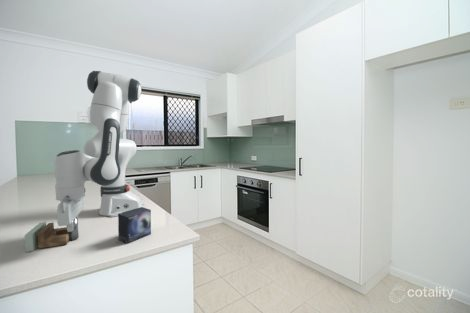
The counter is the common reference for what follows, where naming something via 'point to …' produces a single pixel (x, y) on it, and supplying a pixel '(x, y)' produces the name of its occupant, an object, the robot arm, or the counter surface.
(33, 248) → the wall
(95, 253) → the counter surface
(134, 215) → the small box
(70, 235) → the dowel
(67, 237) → the block
